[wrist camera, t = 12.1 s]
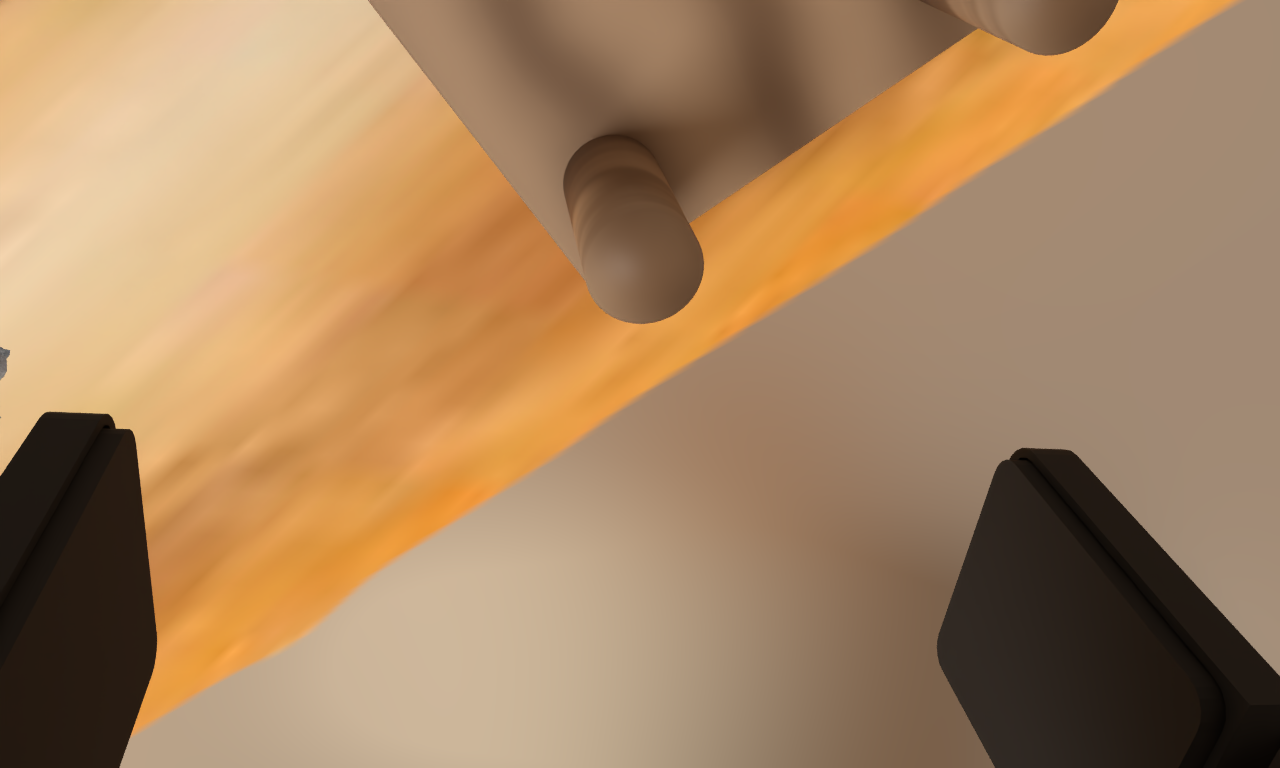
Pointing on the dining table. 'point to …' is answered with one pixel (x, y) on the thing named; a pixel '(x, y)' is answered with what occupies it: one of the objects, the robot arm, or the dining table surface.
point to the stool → (678, 104)
